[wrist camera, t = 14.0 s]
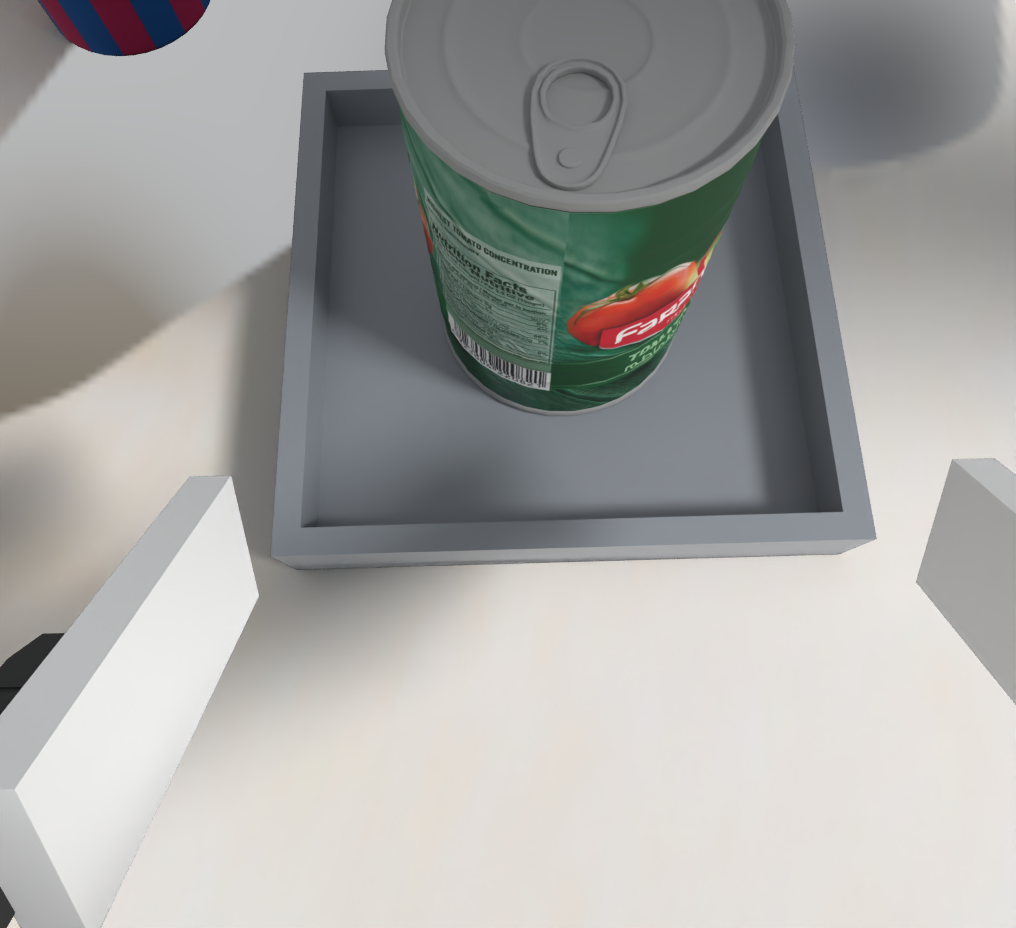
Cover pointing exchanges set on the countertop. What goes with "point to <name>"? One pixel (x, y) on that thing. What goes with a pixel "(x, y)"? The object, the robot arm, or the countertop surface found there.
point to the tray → (539, 438)
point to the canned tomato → (578, 174)
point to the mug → (124, 23)
